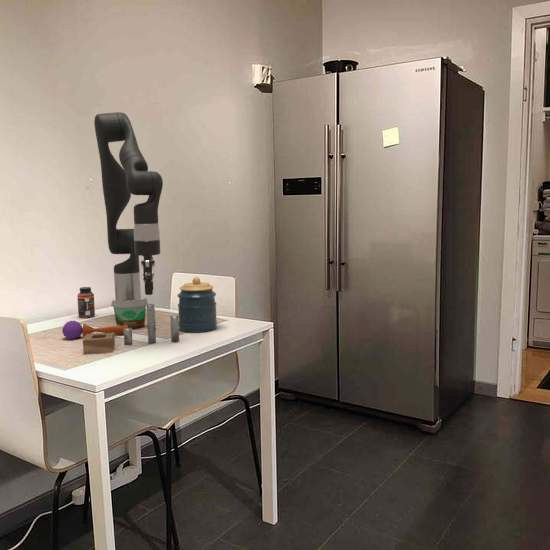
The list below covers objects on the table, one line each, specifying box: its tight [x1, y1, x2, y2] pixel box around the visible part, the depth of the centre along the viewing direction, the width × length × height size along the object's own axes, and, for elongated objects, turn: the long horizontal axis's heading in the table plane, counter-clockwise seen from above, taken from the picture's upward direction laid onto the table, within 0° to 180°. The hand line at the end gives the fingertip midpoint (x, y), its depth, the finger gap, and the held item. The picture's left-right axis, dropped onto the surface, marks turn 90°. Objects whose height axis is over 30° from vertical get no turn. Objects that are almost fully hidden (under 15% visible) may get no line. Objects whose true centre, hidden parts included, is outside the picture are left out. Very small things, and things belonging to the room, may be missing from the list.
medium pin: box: [169, 314, 180, 343], centre depth 170 cm, size 2×2×8 cm
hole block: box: [82, 332, 116, 355], centre depth 162 cm, size 8×8×4 cm
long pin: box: [146, 303, 157, 345], centre depth 168 cm, size 2×2×12 cm
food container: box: [110, 297, 149, 331], centre depth 188 cm, size 12×6×10 cm, turn 114°
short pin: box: [123, 328, 134, 346], centre depth 167 cm, size 2×2×5 cm
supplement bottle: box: [77, 286, 96, 319], centre depth 209 cm, size 6×6×11 cm
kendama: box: [61, 320, 128, 340], centre depth 178 cm, size 6×6×20 cm
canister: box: [177, 276, 218, 333], centre depth 186 cm, size 13×13×18 cm
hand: (149, 292), depth 167 cm, fingers open, 8 cm apart
